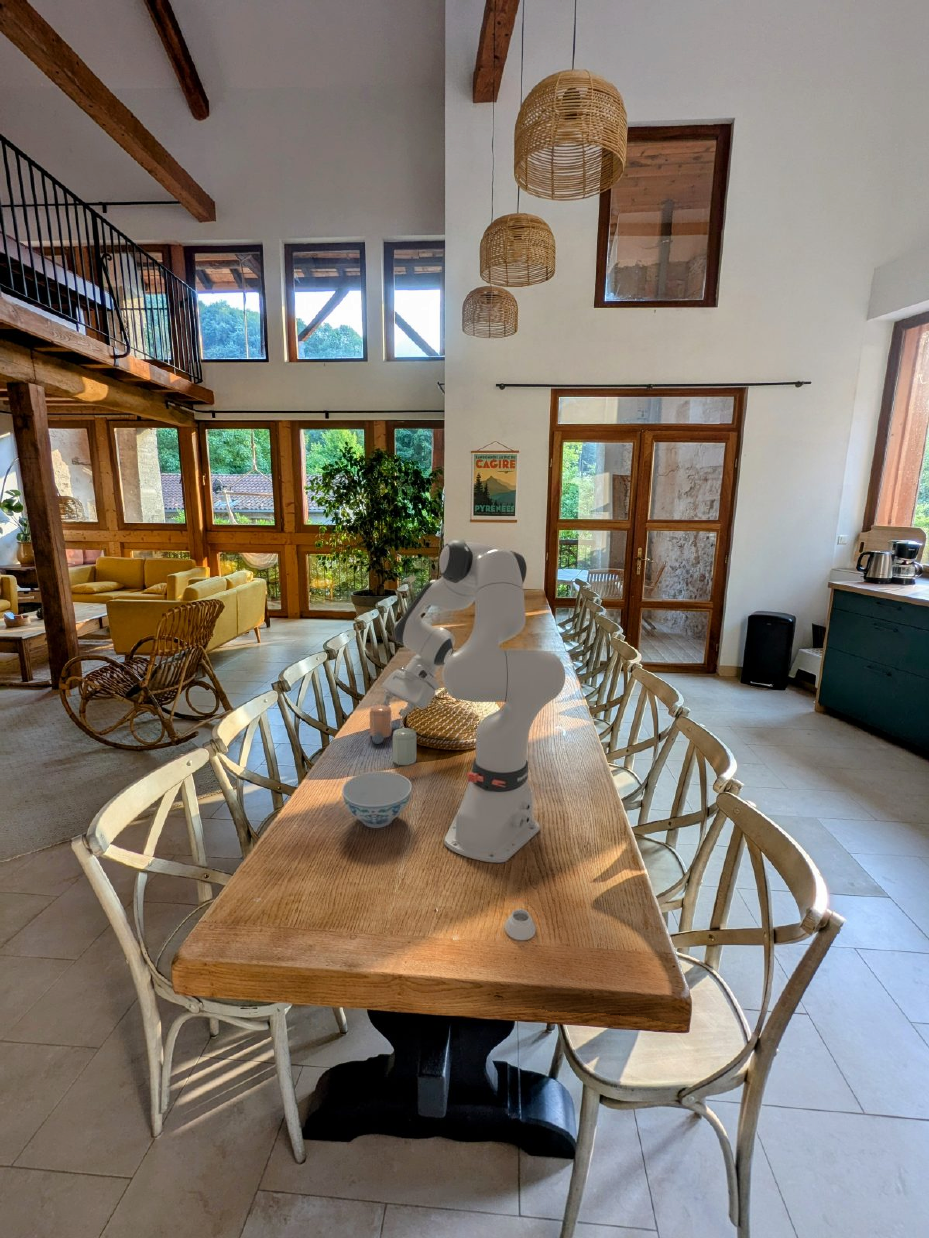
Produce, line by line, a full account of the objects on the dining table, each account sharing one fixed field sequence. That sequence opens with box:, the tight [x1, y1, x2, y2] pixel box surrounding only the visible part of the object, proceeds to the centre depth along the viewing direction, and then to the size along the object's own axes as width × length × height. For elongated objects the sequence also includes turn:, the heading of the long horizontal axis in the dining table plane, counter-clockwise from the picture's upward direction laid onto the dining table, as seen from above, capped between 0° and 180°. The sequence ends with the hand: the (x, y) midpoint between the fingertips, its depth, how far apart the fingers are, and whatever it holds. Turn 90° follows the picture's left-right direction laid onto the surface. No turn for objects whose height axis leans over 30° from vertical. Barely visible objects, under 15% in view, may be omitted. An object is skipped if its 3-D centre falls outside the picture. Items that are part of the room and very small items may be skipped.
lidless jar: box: [504, 908, 536, 941], centre depth 93 cm, size 5×3×5 cm
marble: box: [371, 733, 385, 745], centre depth 163 cm, size 3×3×3 cm
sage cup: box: [392, 727, 417, 766], centre depth 152 cm, size 6×6×8 cm
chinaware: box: [341, 770, 413, 829], centre depth 124 cm, size 15×15×8 cm
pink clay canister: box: [369, 704, 393, 739], centre depth 169 cm, size 6×6×8 cm
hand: (392, 711), depth 171 cm, fingers open, 8 cm apart
